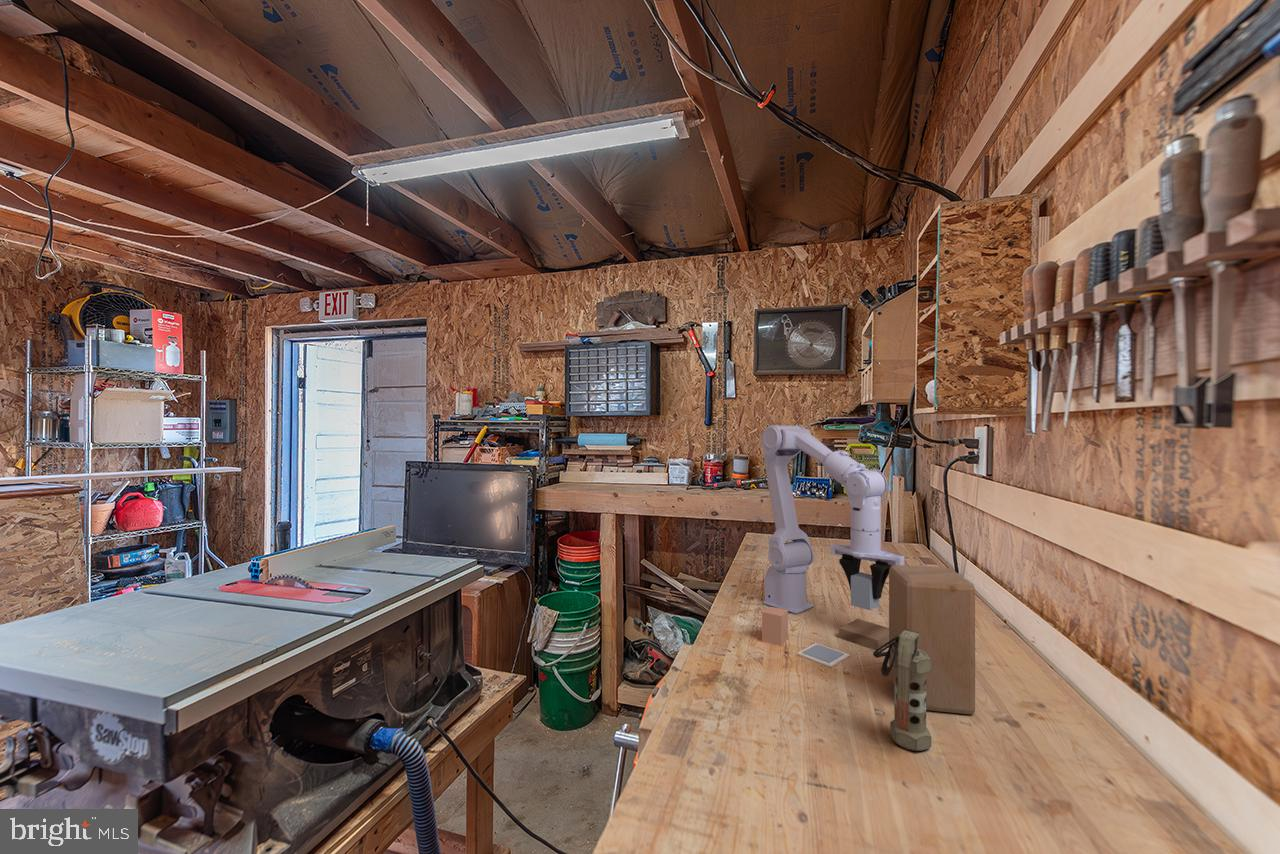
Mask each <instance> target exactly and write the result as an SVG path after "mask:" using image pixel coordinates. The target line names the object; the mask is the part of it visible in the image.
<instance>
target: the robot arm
mask: <svg viewBox="0 0 1280 854" xmlns="http://www.w3.org/2000/svg"><path fill="white" fill-rule="evenodd" d="M760 441H761V448H762V453H763V462H764V463H763V464H764V469H765V473H766V479H767V480H766V481H767V485H768V492H769V497H770V503H771V511H772V514H773V520H774V527H775V532H774V533H773V534H772V535H771V536H769V538H768V548H769V549H768V553H767V554H768V560H769V563H770V566H769V567H768V568H767V570H766V571H765V576H764V600H763V601H762V603H763V604H764V605H767V606H769V607H774V608H779V609H784V610H788V613H789V612H790V613H792V614H797V615H798V614H800V613H801V612H804V611H806V610H808V609H810V608H814V607H815V604H814V603H812V602H811V603H810V602H807V601H808V600H807V597H808V596H807V592H808V591H807V588H808V587H807V584H808V583H807V581H808V580H807V572H808V571H809V569H810V565H812V564H813V562H814V559H815V553H814V548H813V547H812V545H811V543H810V540H809V536H808V535H807V533H806V532H804V531H803V530H802V529H801V528H800V527H799V523H798V516H797V512H796V507H795V501H794V495H793V490H792V484H791V479H790V474H789V469H788V465H789V463H790V462H791V460H792V459H794V458H795V457H796V456H798V454H799V453H801V451H802V452H803V453H804V454H806V455H808V456H810V457H811V458H813V459H814V460H816V461H817V462H819V463H821V464H822V468H823V471H824V472H825V474H827V475H829V477H831V478H833V479H834V480H835V481H836V482H837V483H839V484H840V485H842V486H843V487H844V488H843V489H844V492H845V494H846V495H847V497H848V498H847V499H848V504H849V507H850V545H846V544H840V543H839V544H838V543H833V544H829V545H830V546H829V549H830V550H829V551H830V552H829V553H830V555H835V556H836V555H837V556H838V555H840V556H841V558H839V559H838V561H839V564H840V566H841V568H842V570H843V572H844V573H845V576H846V577H845V578H846V579H847V583H848V586H849V589H850V592H851V576H852V575H854V574H857V573H860V569H861V564H862V563H861V562H862V560H863V561H864V560H865V561H867V562H868V561H869V562H874V563H872V564H869V568H870V572H871V573H870V574H871V575H872V580H873V599H879V600H880V599H881V598H882V596H883V595H882V594H883V589H884V586H885V584H886V581H887V579H888V578H889V569H890V567H891V566H893V565H905V556H904V555H900V554H899V555H898V554H895V553H893V552H889V551H885V550H882V496H884V495H885V494H886V492H887V490H888V480H887V478H886V476H885V475H884V474H883V473H882V472H881V470H879V469H868V468H866V465H865V464H863V463H859V462H857V461H856V460H855V459H853V458H852V457H850V453H849V452H847V451H846V450H836V451H833V450H831V449H830V448H829V447H827V445H825V444H824V443H822V442H821V441H820V440H819V439H817V438H816V437H814V436H813V435H812V434H811V431H810V429H808V428H805V427H804V426H803V425H801V424H796V425H776V424H769V425H768V426H767V427H766V428H765V429H764V430H763V432H762V435H761V437H760ZM788 541H789V542H788Z"/></svg>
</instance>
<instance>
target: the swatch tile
mask: <svg viewBox="0 0 1280 854" xmlns="http://www.w3.org/2000/svg"><path fill="white" fill-rule="evenodd" d="M796 655H797V656H800V657H802V658H805V659H806V660H809V661H813V662H815V663H818V664H820V665H824V666H826V667H829V668H833V667H834V666H836V665H838V664H839V663H841V662H843V661H844V660H846V659H847V658H850V656H851V655H850V654H849V653H846V652H843V651H840V650H838V649H835V648H831V647H828V646H826V645H823V644H820V643H817V642H815V643H813V644H812V645H810V646H807V647H805V648H803V649H802V650H800V651H798V652H796Z"/></svg>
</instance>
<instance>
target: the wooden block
mask: <svg viewBox="0 0 1280 854" xmlns="http://www.w3.org/2000/svg"><path fill="white" fill-rule="evenodd" d="M888 628H889V641H890V640H891V639H893V638H895V637H896V636H897V637H898V636H900V635H901V633H902V632H903V631H904V630H906V631H907V630H911V631H915V632H918V633H919V634H920V635H919V637H918V644H917V648H918V649H919V650H922V651H924V652H926V653H927V654H928V655H929V657H930V659H931V670H930V671H929V672H927V673H926V711H934V712H942V713H945V712H946V713H954V714H962V715H972V714H974V713H975V711H976V586H975V585H974V583H973V582H971V581H970V580H968V579H967V578H965V577H963V576H962V575H961V574H960V573H958V572H956V571H955V570H953V569H951V568H949V567H944V566H925V565H924V566H922V565H906V564H904V565H893V566H891V567H890V569H889V575H888ZM895 641H896V640H894V641H893V642H895ZM891 643H892V642H891ZM891 643H890V644H891ZM893 647H894V645H893V646H892V648H893ZM890 665H891V659H890V658H889V661H888V666H889V667H890ZM888 676H889V679H890V682H891V683H892V685H893V686H894V666H893V667H892V669H891V671H890V673H889V674H888Z"/></svg>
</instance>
